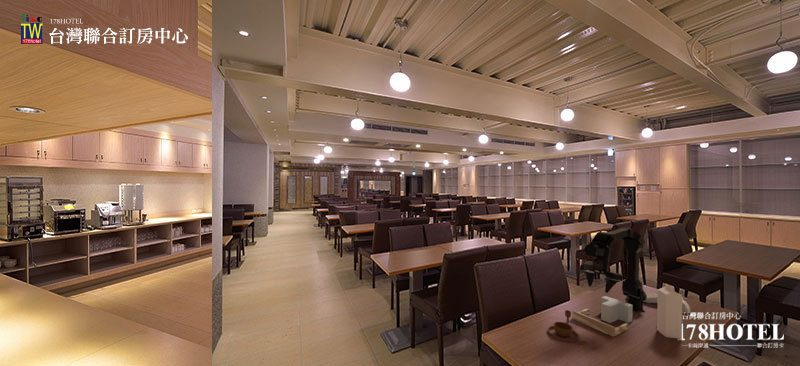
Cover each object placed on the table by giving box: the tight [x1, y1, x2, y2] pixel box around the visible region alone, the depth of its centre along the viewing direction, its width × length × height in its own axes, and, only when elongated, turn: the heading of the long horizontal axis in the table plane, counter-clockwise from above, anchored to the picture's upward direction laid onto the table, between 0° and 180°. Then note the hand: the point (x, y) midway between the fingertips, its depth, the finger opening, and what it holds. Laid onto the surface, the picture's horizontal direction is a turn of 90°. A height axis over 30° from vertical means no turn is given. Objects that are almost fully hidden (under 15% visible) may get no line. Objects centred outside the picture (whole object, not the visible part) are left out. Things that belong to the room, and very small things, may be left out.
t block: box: [600, 295, 633, 324], centre depth 142 cm, size 12×12×8 cm
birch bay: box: [571, 308, 629, 337], centre depth 136 cm, size 13×18×4 cm
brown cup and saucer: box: [547, 309, 587, 346], centre depth 128 cm, size 18×20×6 cm
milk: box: [656, 283, 683, 340], centre depth 127 cm, size 6×6×22 cm
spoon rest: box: [643, 291, 691, 315], centre depth 157 cm, size 24×12×7 cm, turn 32°
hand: (597, 289), depth 139 cm, fingers open, 9 cm apart
